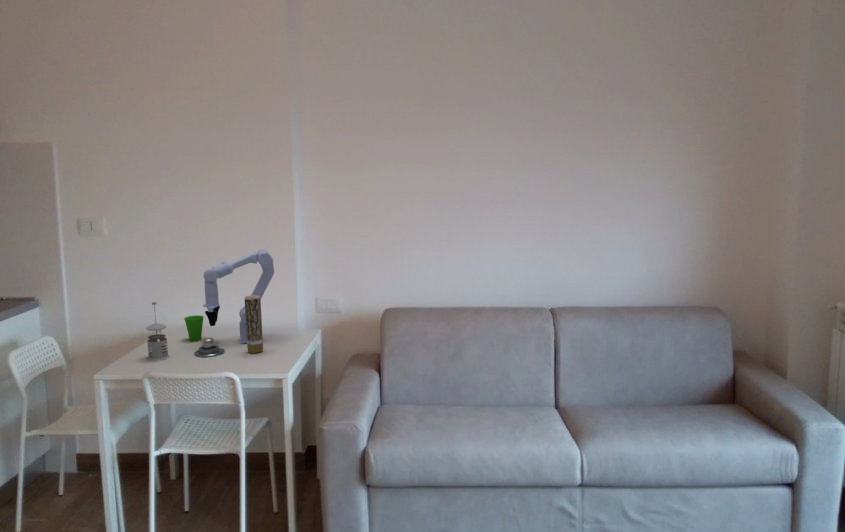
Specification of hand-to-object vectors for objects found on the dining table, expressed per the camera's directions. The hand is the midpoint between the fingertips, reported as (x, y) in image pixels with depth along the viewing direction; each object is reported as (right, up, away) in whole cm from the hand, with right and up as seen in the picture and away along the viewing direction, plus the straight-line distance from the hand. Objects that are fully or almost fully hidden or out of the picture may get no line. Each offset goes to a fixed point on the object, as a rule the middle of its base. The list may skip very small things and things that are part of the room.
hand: (213, 323), depth 296 cm
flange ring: (+2, -12, -12) cm, 17 cm away
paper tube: (+22, -12, -11) cm, 27 cm away
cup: (-12, -9, +10) cm, 18 cm away
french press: (-18, -13, -18) cm, 28 cm away
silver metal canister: (+2, -11, -12) cm, 17 cm away
